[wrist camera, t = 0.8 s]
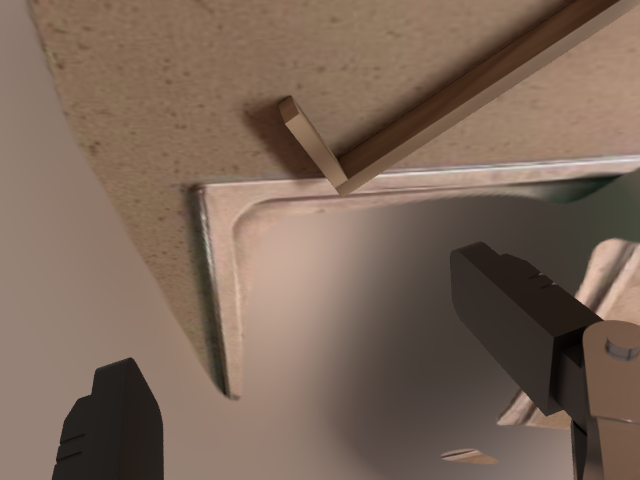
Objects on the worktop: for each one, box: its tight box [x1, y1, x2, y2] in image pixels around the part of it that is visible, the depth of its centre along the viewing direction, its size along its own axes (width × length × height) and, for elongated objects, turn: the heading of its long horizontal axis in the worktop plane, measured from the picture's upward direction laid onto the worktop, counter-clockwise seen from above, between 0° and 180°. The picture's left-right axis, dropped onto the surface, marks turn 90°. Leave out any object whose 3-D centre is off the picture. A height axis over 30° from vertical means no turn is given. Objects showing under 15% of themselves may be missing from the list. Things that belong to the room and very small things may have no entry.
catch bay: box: [278, 0, 640, 198], centre depth 34 cm, size 8×25×3 cm, turn 122°
